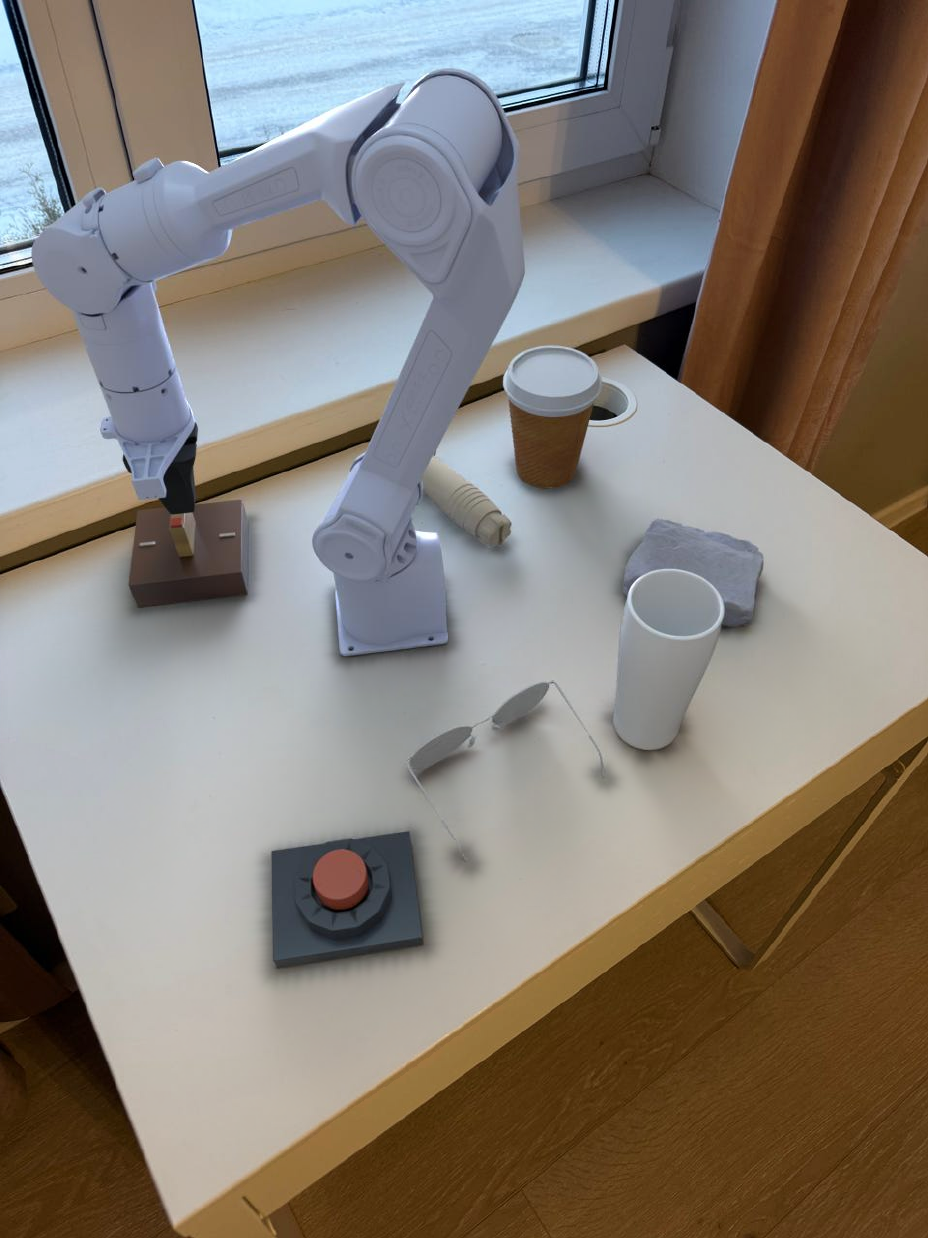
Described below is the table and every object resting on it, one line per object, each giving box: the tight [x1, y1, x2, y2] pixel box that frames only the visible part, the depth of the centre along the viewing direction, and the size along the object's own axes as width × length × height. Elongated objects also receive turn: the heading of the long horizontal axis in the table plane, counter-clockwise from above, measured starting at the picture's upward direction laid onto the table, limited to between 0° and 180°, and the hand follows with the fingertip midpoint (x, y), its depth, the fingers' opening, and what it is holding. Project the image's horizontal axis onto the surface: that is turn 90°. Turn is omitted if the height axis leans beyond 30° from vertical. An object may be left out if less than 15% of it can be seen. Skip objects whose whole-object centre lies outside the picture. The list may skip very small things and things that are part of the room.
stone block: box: [622, 518, 765, 628], centre depth 82 cm, size 12×5×10 cm
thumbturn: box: [169, 513, 196, 557], centre depth 82 cm, size 4×1×4 cm, turn 8°
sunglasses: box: [404, 679, 606, 862], centre depth 68 cm, size 14×8×5 cm, turn 122°
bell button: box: [313, 849, 369, 910], centre depth 61 cm, size 4×4×2 cm
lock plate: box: [127, 499, 249, 608], centre depth 84 cm, size 10×10×3 cm
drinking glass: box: [612, 569, 725, 751], centre depth 67 cm, size 7×7×15 cm
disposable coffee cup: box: [502, 345, 603, 489], centre depth 90 cm, size 10×10×12 cm
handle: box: [422, 450, 513, 547], centre depth 89 cm, size 5×6×15 cm
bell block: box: [270, 830, 425, 969], centre depth 62 cm, size 10×8×3 cm
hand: (182, 508), depth 77 cm, fingers closed
